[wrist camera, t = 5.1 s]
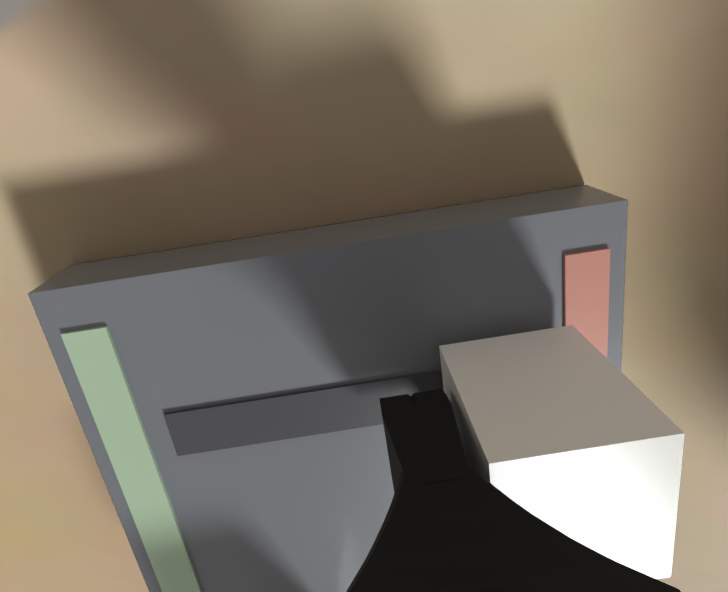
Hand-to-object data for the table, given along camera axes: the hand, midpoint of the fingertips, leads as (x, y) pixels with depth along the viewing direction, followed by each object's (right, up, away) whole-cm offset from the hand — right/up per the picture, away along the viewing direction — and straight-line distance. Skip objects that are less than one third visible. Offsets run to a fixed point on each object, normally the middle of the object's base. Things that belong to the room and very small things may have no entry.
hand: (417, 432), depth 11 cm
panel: (0, -7, +7) cm, 10 cm away
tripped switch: (+2, +1, +1) cm, 2 cm away
